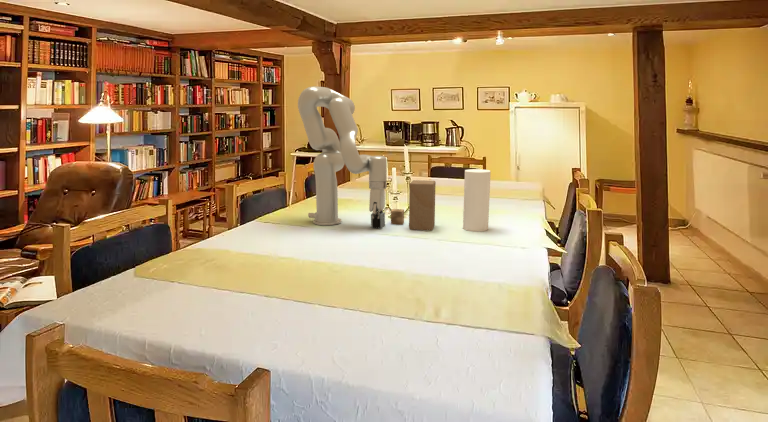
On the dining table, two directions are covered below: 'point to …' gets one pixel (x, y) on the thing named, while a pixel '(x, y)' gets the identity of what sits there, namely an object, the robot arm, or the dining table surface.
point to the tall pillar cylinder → (476, 199)
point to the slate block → (382, 219)
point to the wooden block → (422, 205)
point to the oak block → (397, 216)
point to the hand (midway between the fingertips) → (377, 225)
